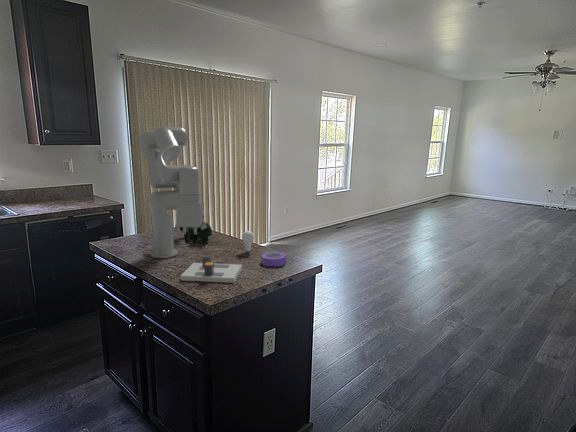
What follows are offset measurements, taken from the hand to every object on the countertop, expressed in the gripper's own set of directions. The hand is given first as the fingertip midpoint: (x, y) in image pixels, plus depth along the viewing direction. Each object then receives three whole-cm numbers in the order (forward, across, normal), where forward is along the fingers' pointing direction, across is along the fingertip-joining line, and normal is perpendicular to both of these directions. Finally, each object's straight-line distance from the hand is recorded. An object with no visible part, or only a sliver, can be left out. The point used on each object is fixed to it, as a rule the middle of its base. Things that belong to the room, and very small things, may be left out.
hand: (191, 242), depth 146 cm
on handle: (+13, +3, +10) cm, 17 cm away
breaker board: (+15, +7, +5) cm, 17 cm away
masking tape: (+16, +31, +24) cm, 42 cm away
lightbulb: (+15, +16, +38) cm, 44 cm away
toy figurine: (+15, -16, +57) cm, 61 cm away
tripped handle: (+13, +7, 0) cm, 15 cm away
